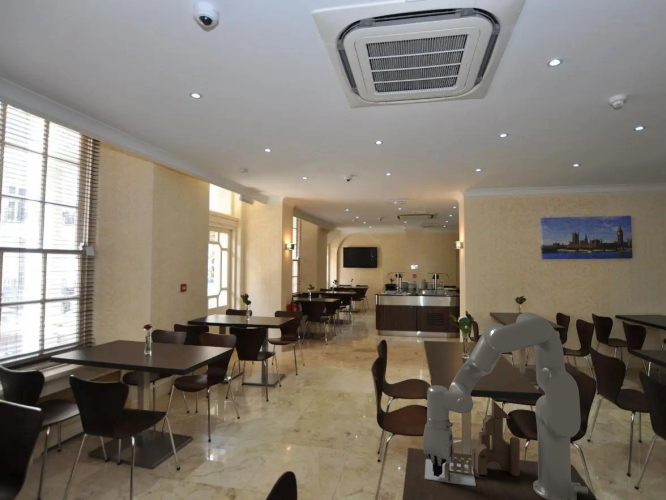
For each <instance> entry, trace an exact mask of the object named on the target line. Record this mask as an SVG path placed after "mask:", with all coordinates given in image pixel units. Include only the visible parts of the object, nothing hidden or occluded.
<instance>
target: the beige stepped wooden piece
mask: <svg viewBox="0 0 666 500" xmlns="http://www.w3.org/2000/svg"><path fill="white" fill-rule="evenodd" d="M444 470H445V481H446V482H445V483H448V474H449V471H450V463H447V462H446V463H445V467H444Z"/></svg>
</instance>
